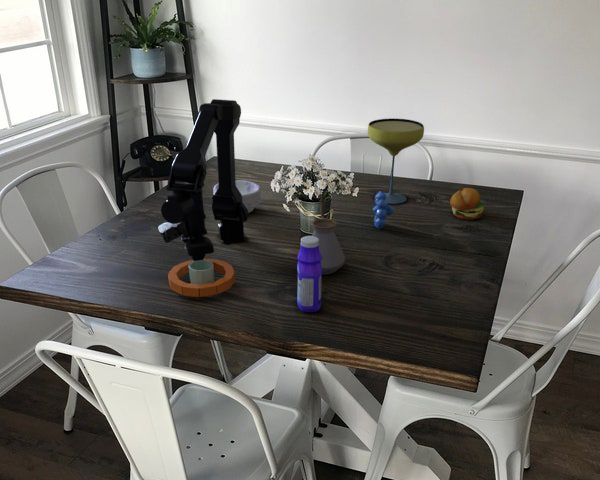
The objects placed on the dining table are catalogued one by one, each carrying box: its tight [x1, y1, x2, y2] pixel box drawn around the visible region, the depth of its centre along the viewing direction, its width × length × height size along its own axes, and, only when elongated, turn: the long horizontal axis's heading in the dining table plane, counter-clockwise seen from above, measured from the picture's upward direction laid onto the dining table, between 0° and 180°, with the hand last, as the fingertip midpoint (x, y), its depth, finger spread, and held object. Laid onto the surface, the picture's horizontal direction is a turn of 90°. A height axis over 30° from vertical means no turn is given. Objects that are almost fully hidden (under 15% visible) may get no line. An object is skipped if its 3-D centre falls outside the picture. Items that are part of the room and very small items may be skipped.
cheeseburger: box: [448, 187, 485, 221], centre depth 197 cm, size 10×11×10 cm
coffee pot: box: [311, 194, 346, 275], centre depth 167 cm, size 21×12×15 cm, turn 0°
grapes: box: [371, 190, 395, 230], centre depth 187 cm, size 12×7×12 cm, turn 176°
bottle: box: [296, 235, 323, 313], centre depth 144 cm, size 7×6×17 cm
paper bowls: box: [212, 179, 262, 214], centre depth 201 cm, size 15×15×8 cm
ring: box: [167, 257, 236, 298], centre depth 155 cm, size 16×16×2 cm
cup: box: [188, 260, 216, 284], centre depth 155 cm, size 6×6×6 cm
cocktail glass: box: [367, 118, 425, 205], centre depth 206 cm, size 18×18×25 cm
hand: (196, 265), depth 161 cm, fingers closed on ring, 2 cm apart
